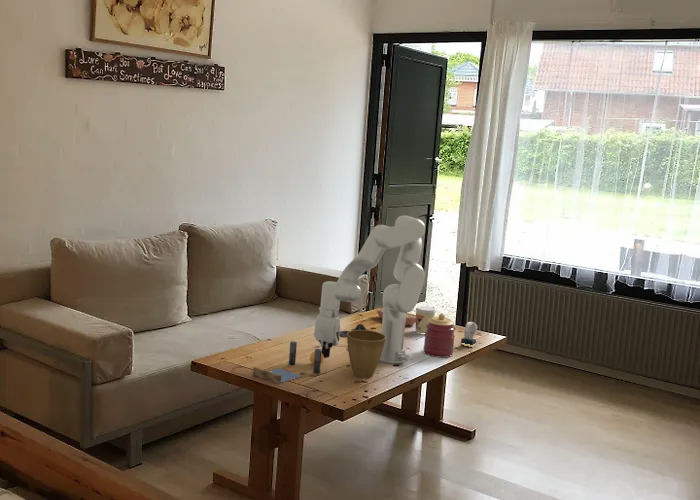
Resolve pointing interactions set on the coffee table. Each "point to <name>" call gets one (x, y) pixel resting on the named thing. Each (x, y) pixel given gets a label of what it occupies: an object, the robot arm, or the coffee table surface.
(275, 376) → the backstop
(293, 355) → the post
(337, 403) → the coffee table surface
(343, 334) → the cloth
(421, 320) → the coffee cup
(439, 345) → the canister
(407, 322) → the anatomical model
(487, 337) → the coffee table surface
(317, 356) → the post
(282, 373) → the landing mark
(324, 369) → the coffee table surface
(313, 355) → the ball
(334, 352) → the coffee table surface
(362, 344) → the plant pot
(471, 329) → the grey upright piece
